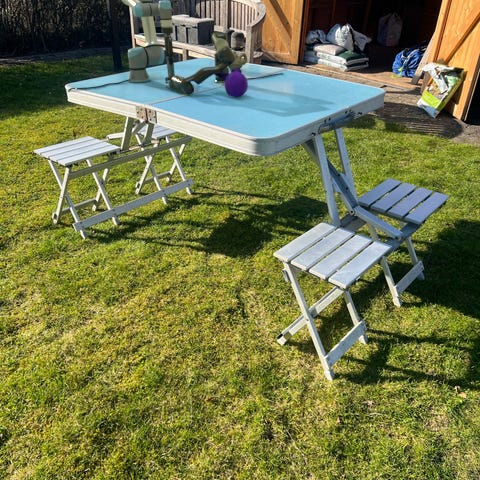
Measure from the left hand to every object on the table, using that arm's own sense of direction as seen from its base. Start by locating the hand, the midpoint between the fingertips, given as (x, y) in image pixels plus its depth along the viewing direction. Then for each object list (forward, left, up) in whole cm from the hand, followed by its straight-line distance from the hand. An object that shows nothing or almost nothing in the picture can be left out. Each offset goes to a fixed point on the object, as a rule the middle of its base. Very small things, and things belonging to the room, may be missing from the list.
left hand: (170, 63), depth 309 cm
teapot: (+61, +45, -16) cm, 77 cm away
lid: (0, 0, +4) cm, 4 cm away
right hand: (0, +2, -10) cm, 10 cm away
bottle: (0, 0, -16) cm, 16 cm away
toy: (+33, -40, -16) cm, 54 cm away
